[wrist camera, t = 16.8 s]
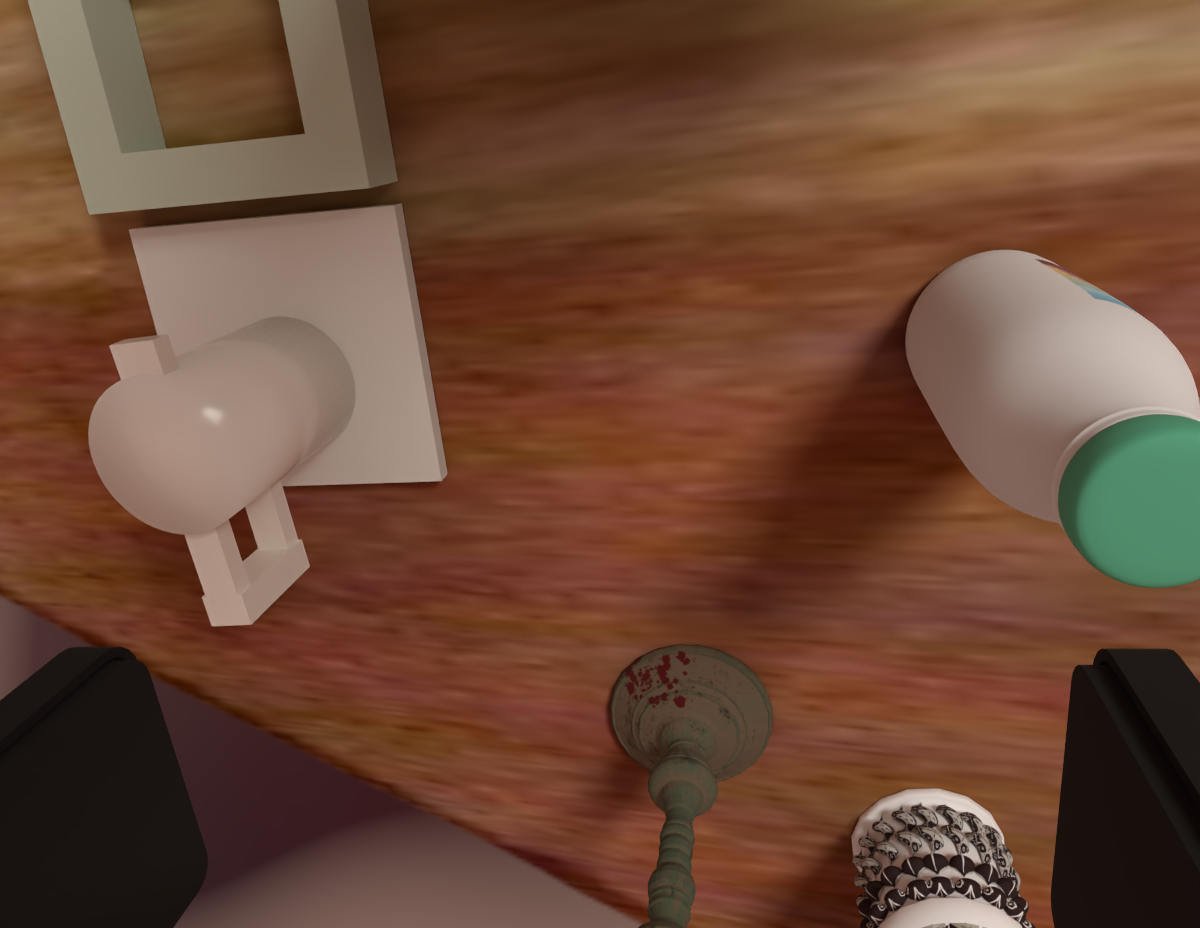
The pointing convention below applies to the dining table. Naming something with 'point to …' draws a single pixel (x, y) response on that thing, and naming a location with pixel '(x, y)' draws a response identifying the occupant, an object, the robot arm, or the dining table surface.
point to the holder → (223, 170)
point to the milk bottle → (1066, 409)
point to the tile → (313, 320)
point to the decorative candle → (934, 864)
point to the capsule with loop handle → (223, 447)
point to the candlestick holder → (687, 750)
